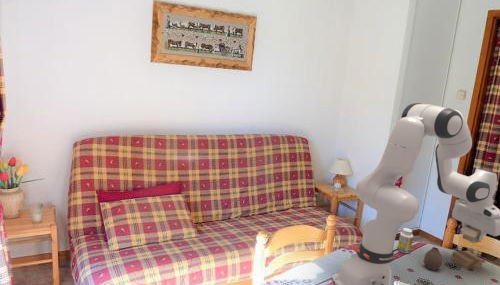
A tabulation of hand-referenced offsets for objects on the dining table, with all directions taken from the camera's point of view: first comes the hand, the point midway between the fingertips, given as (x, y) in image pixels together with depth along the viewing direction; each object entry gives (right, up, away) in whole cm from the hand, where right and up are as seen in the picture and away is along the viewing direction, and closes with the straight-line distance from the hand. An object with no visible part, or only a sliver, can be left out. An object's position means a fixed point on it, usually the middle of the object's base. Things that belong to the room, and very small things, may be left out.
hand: (472, 236), depth 160 cm
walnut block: (-1, -13, +3) cm, 13 cm away
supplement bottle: (-26, -9, +10) cm, 29 cm away
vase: (-19, -12, -4) cm, 23 cm away
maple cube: (0, -2, 0) cm, 2 cm away
